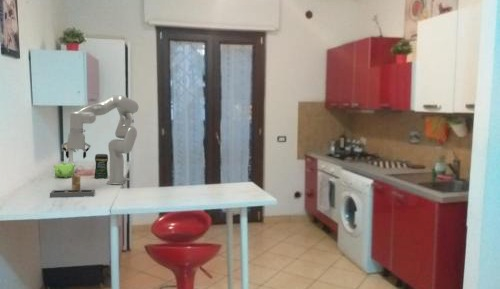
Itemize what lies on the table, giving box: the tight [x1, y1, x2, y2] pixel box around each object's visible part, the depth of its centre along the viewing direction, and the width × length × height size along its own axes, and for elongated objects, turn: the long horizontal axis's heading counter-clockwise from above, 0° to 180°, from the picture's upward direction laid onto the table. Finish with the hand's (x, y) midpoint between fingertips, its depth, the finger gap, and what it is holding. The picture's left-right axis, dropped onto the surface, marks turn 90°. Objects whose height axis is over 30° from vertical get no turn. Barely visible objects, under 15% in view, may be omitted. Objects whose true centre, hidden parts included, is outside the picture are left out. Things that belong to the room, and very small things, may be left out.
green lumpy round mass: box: [53, 162, 77, 179], centre depth 305 cm, size 15×14×11 cm
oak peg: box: [71, 174, 81, 190], centre depth 256 cm, size 4×4×10 cm
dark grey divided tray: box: [49, 189, 96, 198], centre depth 243 cm, size 24×9×3 cm, turn 106°
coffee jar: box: [94, 153, 109, 179], centre depth 308 cm, size 10×8×19 cm
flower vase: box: [61, 142, 80, 172], centre depth 329 cm, size 13×18×25 cm
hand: (75, 158), depth 255 cm, fingers open, 9 cm apart
